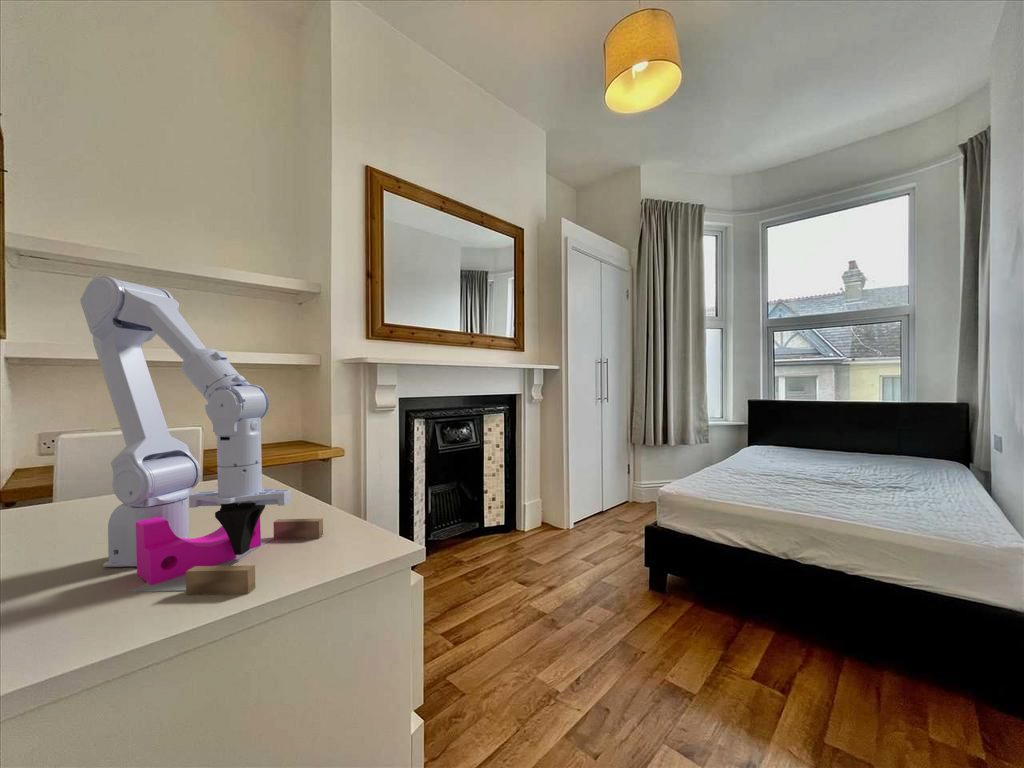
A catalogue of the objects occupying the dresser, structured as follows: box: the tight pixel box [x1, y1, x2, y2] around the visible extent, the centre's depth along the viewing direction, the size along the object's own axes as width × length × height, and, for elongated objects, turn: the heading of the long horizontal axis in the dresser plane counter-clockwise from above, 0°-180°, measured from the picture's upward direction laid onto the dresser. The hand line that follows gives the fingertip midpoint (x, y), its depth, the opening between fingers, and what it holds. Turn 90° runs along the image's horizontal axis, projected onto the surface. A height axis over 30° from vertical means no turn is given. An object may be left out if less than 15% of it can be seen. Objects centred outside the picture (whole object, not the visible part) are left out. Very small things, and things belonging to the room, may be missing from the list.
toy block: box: [136, 516, 262, 585], centre depth 65 cm, size 15×6×8 cm, turn 145°
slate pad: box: [130, 537, 274, 593], centre depth 65 cm, size 8×19×1 cm, turn 179°
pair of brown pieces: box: [185, 517, 324, 596], centre depth 64 cm, size 8×21×3 cm, turn 0°
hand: (241, 552), depth 64 cm, fingers closed
